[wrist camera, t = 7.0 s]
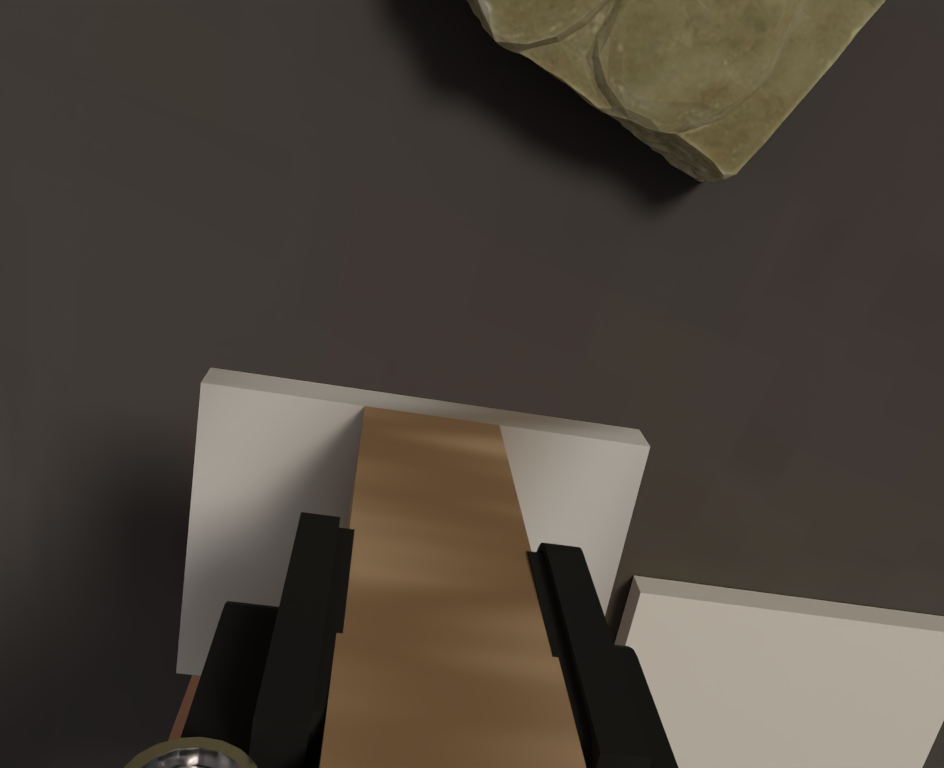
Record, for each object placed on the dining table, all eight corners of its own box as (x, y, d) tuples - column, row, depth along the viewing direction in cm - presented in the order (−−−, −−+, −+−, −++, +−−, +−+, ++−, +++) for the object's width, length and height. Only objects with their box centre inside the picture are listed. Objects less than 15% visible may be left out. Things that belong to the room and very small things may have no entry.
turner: (639, 429, 17) (1077, 1121, 6) (571, 688, 19) (806, 1578, 8) (211, 367, 16) (-237, 1059, 5) (185, 647, 18) (-175, 1599, 7)
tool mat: (964, 619, 31) (981, 637, 30) (836, 908, 36) (847, 931, 35) (633, 575, 30) (640, 592, 29) (546, 881, 35) (550, 905, 34)
